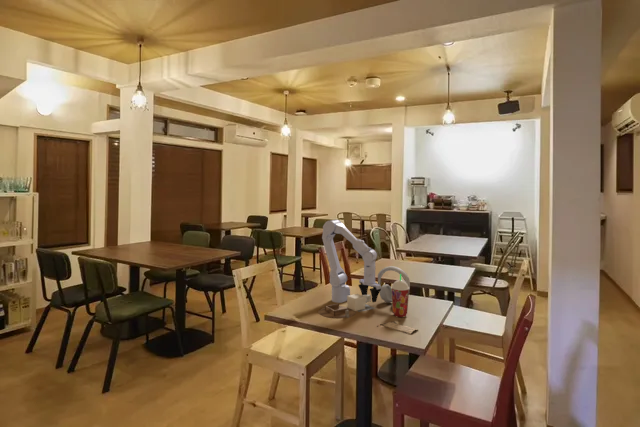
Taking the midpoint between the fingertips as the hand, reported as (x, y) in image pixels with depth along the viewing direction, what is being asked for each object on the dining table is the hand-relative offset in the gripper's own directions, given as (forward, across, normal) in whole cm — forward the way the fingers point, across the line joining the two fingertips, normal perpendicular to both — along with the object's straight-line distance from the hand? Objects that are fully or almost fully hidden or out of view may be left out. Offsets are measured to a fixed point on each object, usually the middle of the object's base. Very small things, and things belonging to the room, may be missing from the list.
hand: (369, 299), depth 196 cm
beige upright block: (+3, 0, -6) cm, 6 cm away
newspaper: (+5, +25, -7) cm, 26 cm away
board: (+4, 0, -15) cm, 15 cm away
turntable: (+4, 0, -20) cm, 20 cm away
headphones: (+4, +2, +14) cm, 15 cm away
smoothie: (+4, +17, +5) cm, 18 cm away
